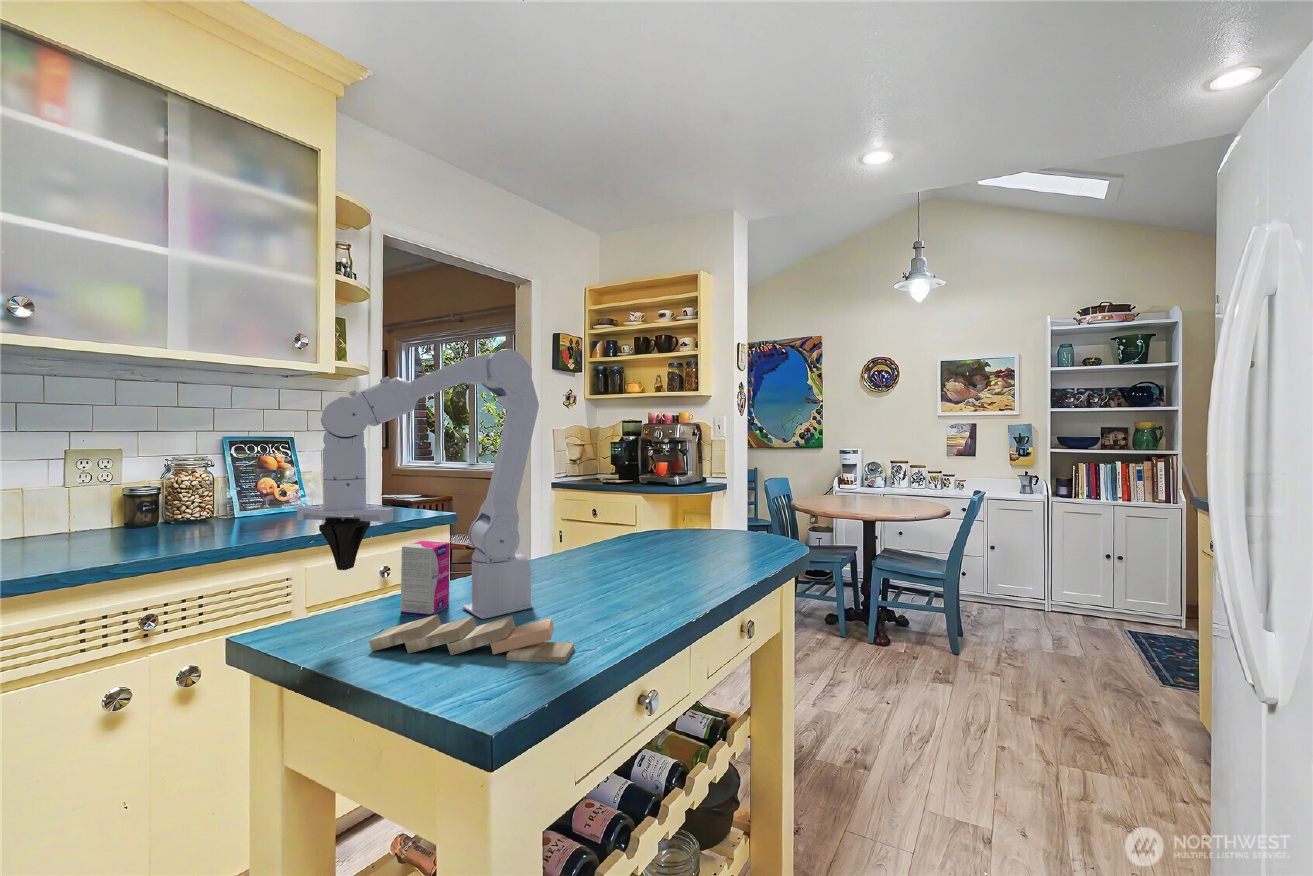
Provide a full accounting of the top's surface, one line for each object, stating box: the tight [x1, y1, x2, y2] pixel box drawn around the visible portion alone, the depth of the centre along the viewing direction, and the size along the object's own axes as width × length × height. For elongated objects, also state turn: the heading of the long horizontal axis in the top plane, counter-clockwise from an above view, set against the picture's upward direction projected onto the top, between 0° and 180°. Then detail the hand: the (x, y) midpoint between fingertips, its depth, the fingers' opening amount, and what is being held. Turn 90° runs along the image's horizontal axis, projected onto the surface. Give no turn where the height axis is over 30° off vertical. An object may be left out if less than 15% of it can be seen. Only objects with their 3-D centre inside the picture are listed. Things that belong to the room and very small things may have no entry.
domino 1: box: [368, 614, 442, 653], centre depth 83 cm, size 2×5×8 cm
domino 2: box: [404, 616, 477, 655], centre depth 82 cm, size 2×5×8 cm
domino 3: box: [446, 615, 516, 657], centre depth 82 cm, size 2×5×8 cm
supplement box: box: [399, 540, 451, 618], centre depth 99 cm, size 6×6×12 cm
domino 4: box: [489, 617, 555, 655], centre depth 82 cm, size 2×5×8 cm
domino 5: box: [506, 641, 575, 664], centre depth 80 cm, size 2×5×8 cm
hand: (345, 568), depth 88 cm, fingers closed
